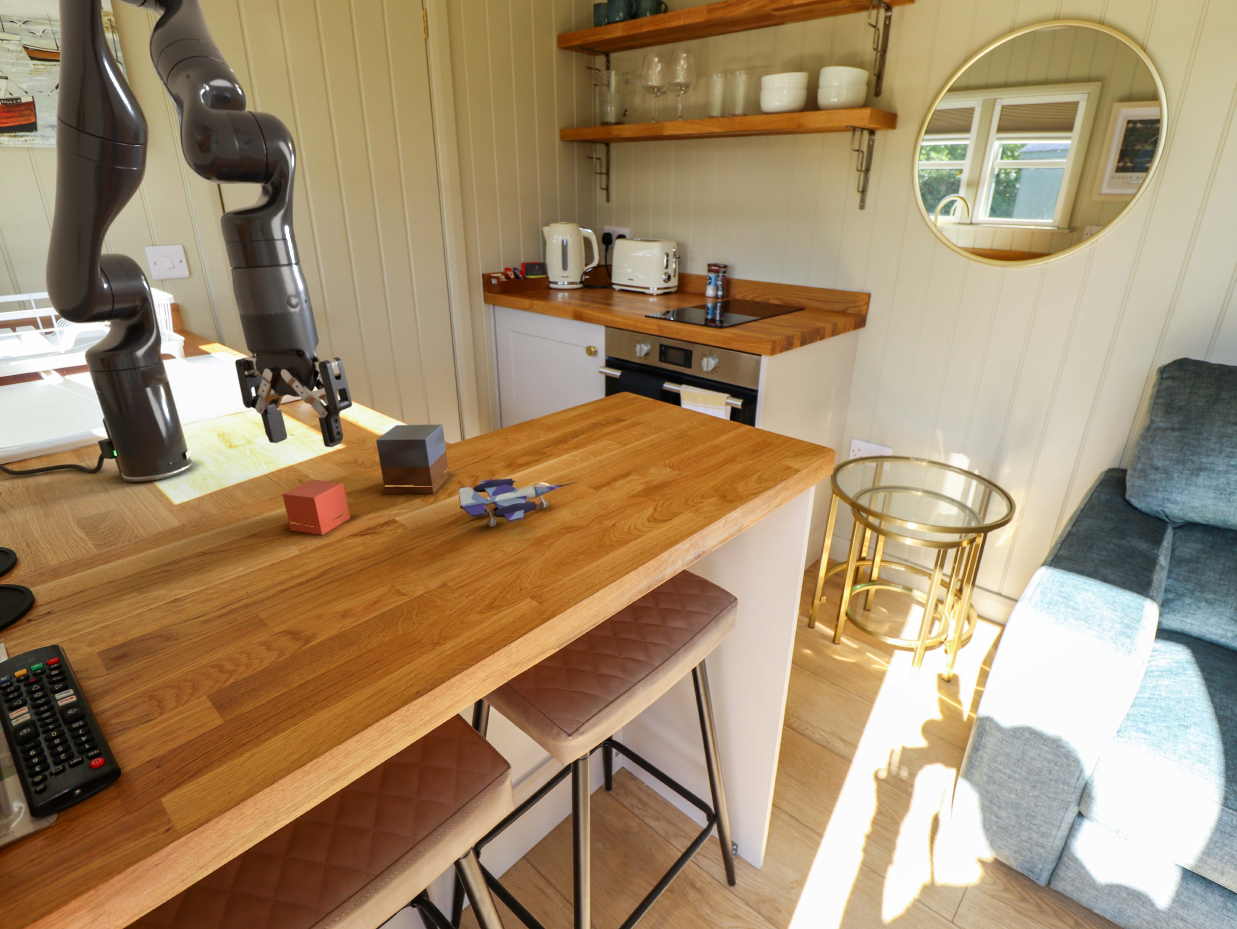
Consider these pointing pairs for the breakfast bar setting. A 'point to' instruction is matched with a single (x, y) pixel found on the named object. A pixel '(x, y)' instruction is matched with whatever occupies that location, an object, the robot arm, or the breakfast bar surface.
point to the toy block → (316, 506)
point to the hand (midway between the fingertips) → (305, 443)
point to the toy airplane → (503, 499)
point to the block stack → (413, 458)
